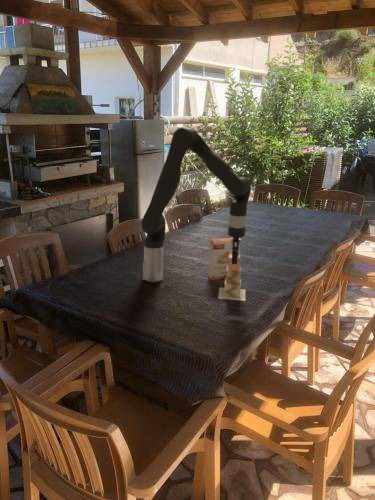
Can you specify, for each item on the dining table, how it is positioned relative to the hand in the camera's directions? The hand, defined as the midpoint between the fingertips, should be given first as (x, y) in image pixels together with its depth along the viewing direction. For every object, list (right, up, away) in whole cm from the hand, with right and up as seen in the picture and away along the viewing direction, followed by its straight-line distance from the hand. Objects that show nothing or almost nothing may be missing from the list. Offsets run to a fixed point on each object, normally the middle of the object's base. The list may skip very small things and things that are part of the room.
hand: (234, 260), depth 182 cm
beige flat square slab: (-1, -17, +6) cm, 18 cm away
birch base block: (0, -15, +5) cm, 16 cm away
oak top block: (0, -10, +3) cm, 10 cm away
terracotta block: (0, -4, +1) cm, 4 cm away
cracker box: (-3, -10, +25) cm, 27 cm away
